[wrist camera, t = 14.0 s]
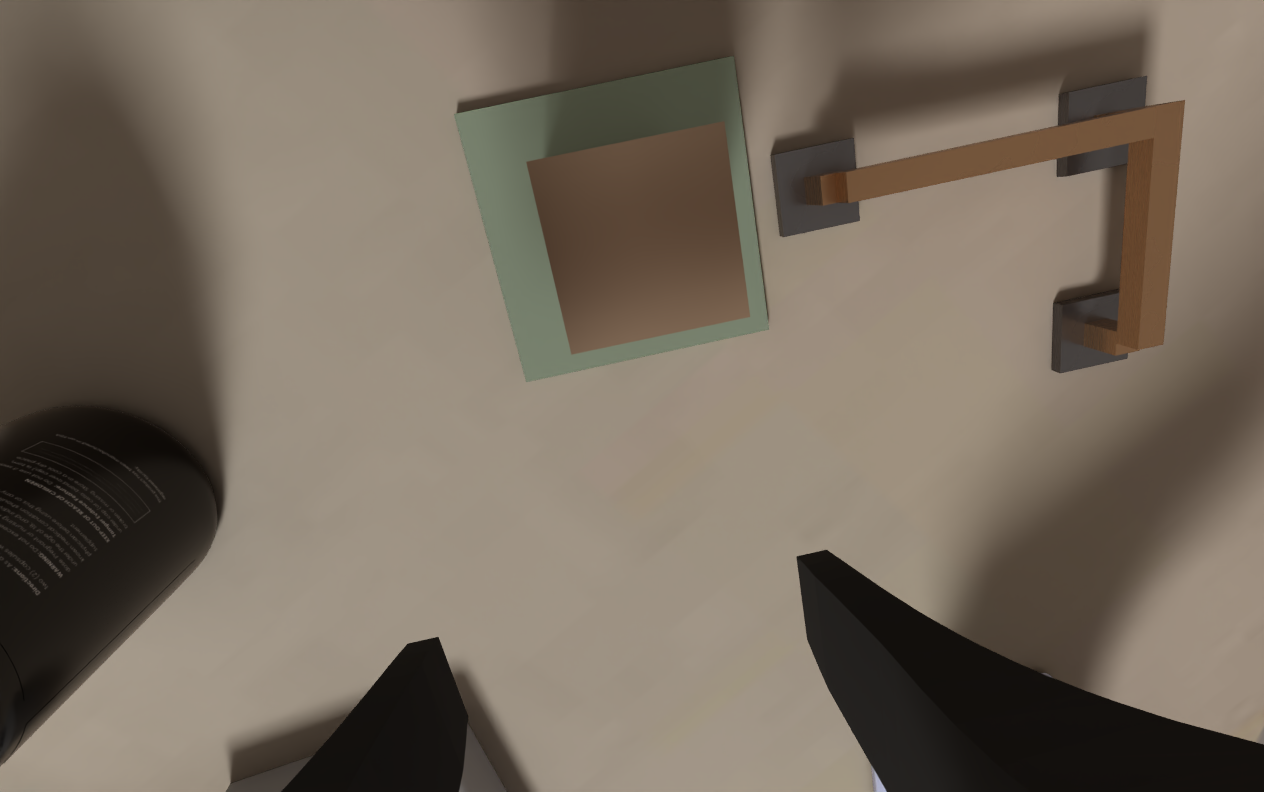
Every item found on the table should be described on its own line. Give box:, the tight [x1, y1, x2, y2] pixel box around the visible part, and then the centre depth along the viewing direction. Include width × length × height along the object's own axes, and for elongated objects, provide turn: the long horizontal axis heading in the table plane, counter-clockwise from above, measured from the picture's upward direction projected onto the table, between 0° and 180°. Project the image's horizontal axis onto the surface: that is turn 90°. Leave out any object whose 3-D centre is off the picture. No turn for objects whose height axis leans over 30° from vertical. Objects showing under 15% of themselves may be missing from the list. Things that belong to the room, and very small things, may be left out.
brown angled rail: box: [771, 76, 1185, 373], centre depth 19 cm, size 9×11×2 cm
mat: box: [454, 56, 769, 382], centre depth 19 cm, size 8×8×1 cm
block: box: [526, 121, 750, 355], centre depth 16 cm, size 4×4×6 cm
